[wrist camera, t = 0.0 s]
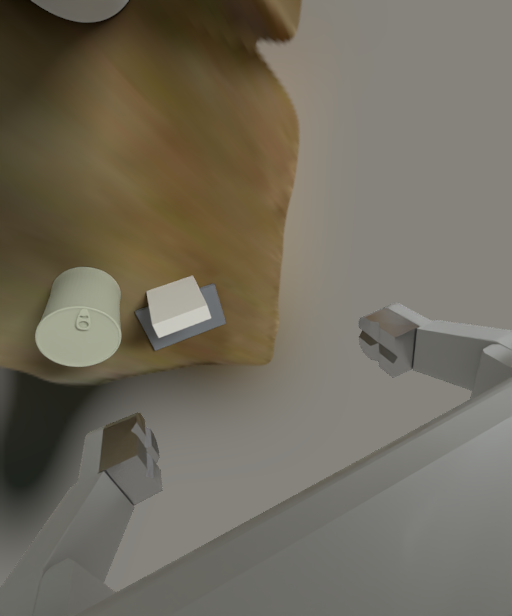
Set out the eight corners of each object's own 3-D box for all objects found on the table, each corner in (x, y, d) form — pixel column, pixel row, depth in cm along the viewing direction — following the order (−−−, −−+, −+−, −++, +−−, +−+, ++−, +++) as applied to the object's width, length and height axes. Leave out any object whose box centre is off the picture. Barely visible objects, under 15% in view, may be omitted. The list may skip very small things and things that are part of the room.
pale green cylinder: (124, 272, 45) (127, 312, 36) (116, 322, 49) (116, 370, 40) (53, 261, 41) (34, 303, 31) (49, 316, 44) (32, 369, 35)
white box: (146, 291, 48) (152, 325, 40) (192, 275, 50) (207, 304, 42) (152, 304, 50) (159, 339, 42) (197, 288, 51) (211, 319, 44)
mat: (134, 310, 49) (135, 312, 49) (213, 283, 52) (214, 284, 52) (155, 348, 54) (155, 350, 54) (225, 321, 57) (226, 323, 57)
